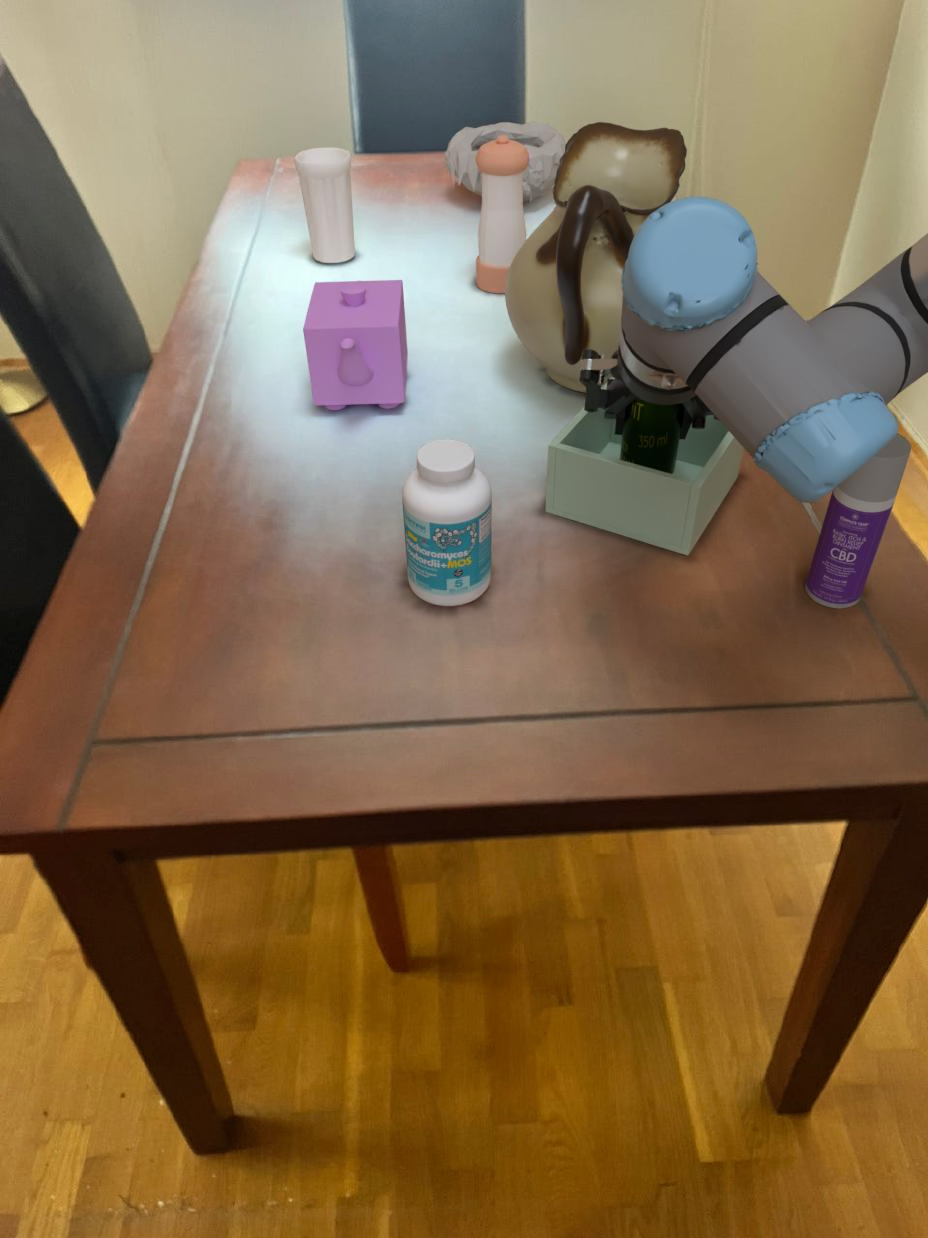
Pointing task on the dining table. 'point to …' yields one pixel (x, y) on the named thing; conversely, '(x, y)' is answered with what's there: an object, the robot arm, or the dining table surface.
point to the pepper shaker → (500, 210)
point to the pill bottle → (447, 524)
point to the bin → (640, 482)
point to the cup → (327, 202)
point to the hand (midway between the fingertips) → (650, 423)
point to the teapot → (357, 343)
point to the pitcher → (589, 243)
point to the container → (856, 527)
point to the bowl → (535, 137)
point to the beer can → (652, 435)
